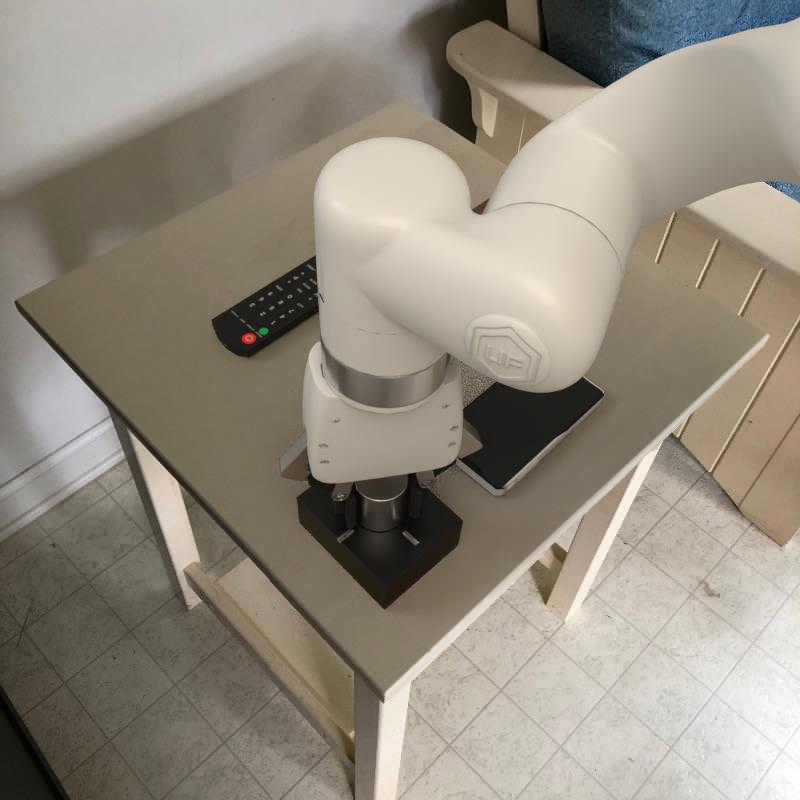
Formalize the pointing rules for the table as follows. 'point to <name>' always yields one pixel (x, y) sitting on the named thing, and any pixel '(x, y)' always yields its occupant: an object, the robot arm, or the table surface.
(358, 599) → the table surface
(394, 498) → the dimmer knob
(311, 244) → the table surface
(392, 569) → the dimmer panel
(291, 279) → the remote control
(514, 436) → the smartphone
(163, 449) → the table surface
